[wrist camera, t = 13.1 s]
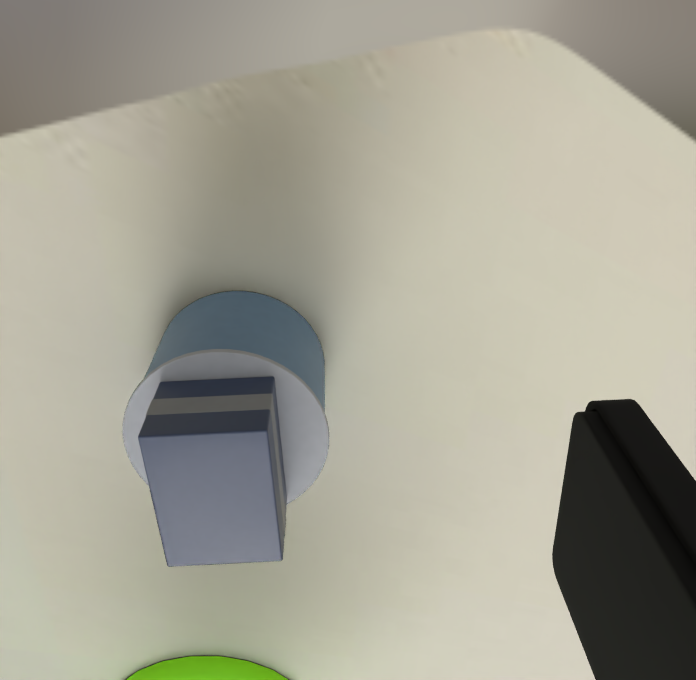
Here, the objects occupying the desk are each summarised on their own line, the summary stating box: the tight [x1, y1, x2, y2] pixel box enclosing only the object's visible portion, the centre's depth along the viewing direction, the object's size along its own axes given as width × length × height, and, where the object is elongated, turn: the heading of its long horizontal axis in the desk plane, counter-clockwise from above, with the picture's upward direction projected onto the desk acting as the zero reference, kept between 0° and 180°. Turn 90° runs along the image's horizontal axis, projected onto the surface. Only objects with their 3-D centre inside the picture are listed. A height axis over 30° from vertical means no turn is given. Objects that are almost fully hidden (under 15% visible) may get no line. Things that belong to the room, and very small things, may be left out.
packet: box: [138, 376, 287, 567], centre depth 29 cm, size 7×5×4 cm
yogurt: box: [123, 291, 329, 504], centre depth 34 cm, size 9×9×7 cm
